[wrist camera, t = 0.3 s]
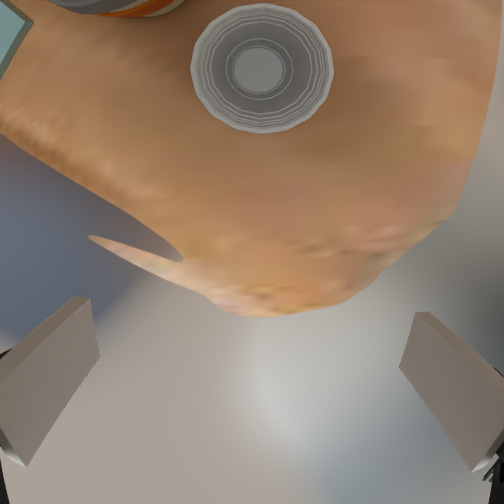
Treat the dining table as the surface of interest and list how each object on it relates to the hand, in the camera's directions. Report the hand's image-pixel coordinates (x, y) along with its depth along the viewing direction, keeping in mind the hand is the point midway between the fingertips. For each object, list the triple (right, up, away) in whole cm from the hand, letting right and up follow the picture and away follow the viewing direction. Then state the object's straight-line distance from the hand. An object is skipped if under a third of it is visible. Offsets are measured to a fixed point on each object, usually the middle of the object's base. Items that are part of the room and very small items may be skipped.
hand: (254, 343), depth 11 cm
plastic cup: (+1, +23, +18) cm, 30 cm away
